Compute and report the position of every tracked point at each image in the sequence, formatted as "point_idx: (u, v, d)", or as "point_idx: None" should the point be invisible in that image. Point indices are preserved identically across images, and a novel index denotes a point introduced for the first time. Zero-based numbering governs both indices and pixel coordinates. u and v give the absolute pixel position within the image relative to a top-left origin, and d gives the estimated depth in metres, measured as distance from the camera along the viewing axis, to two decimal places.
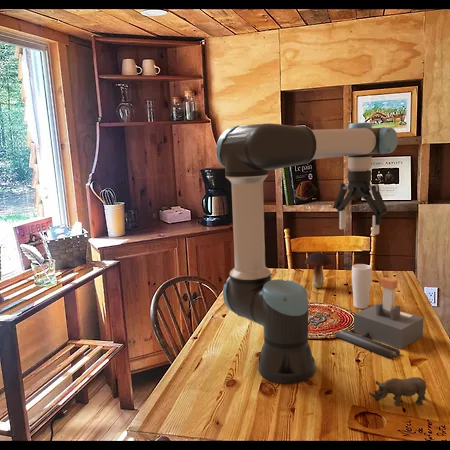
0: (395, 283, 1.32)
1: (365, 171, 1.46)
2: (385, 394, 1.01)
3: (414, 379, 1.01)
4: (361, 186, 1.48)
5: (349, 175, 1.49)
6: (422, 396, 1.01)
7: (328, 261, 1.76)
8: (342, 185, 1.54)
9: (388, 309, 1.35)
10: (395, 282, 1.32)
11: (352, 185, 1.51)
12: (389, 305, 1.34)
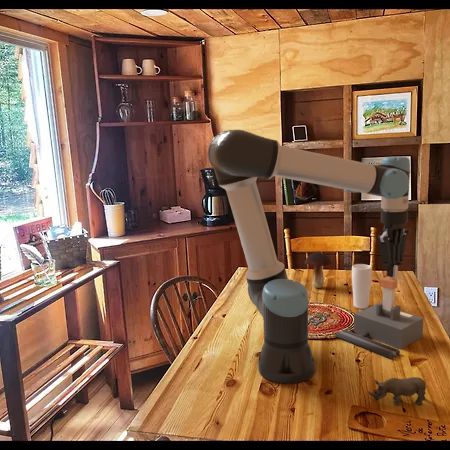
0: (395, 283, 1.32)
1: (384, 211, 1.30)
2: (384, 394, 1.01)
3: (414, 379, 1.01)
4: None
5: None
6: (422, 396, 1.01)
7: (328, 261, 1.76)
8: None
9: (388, 309, 1.35)
10: (395, 282, 1.32)
11: None
12: (389, 305, 1.34)
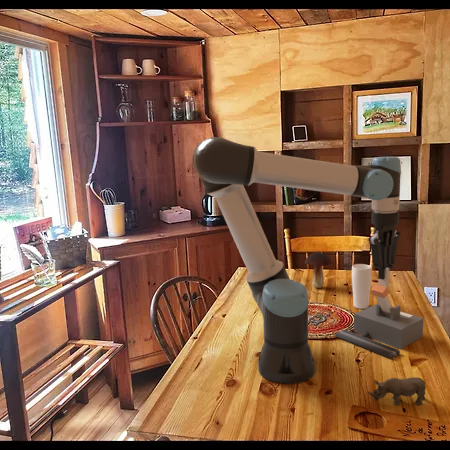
0: (385, 291, 1.30)
1: (375, 213, 1.27)
2: (384, 393, 1.01)
3: (413, 379, 1.01)
4: None
5: None
6: (421, 396, 1.01)
7: (328, 261, 1.76)
8: None
9: (387, 311, 1.34)
10: (385, 290, 1.30)
11: None
12: (387, 308, 1.34)
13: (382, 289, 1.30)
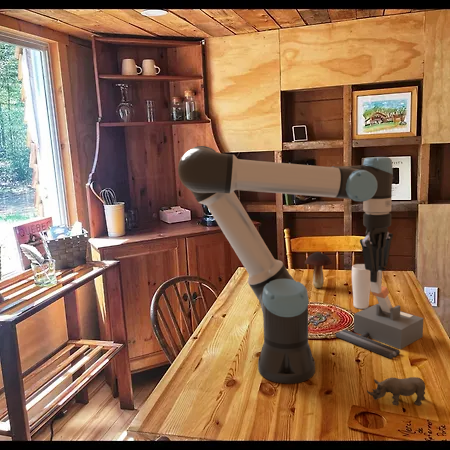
0: (385, 291, 1.30)
1: (366, 214, 1.24)
2: (383, 393, 1.02)
3: (413, 379, 1.01)
4: None
5: None
6: (421, 396, 1.01)
7: (328, 261, 1.76)
8: None
9: (387, 311, 1.34)
10: (385, 290, 1.30)
11: None
12: (387, 308, 1.34)
13: (382, 289, 1.30)
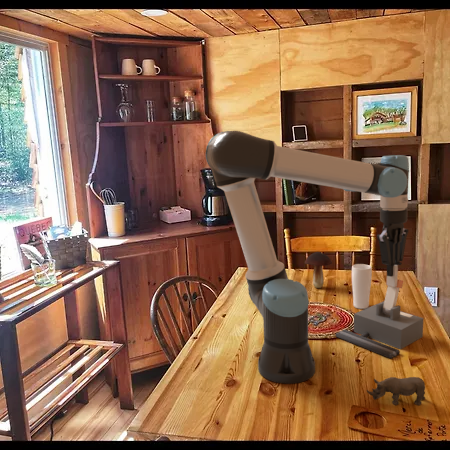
0: (401, 283, 1.34)
1: (383, 210, 1.29)
2: (383, 392, 1.02)
3: (413, 379, 1.01)
4: None
5: None
6: (421, 396, 1.01)
7: (328, 261, 1.76)
8: None
9: (389, 308, 1.35)
10: (401, 282, 1.34)
11: None
12: (390, 304, 1.35)
13: None
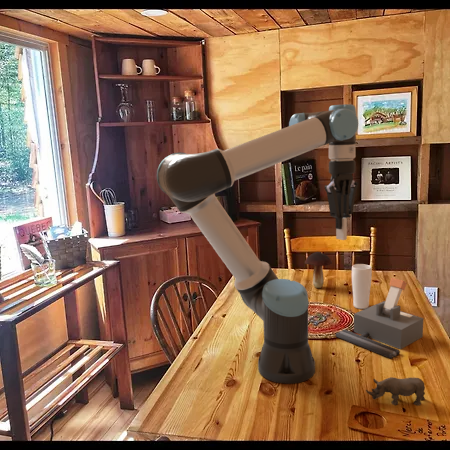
0: (404, 284, 1.36)
1: (331, 161, 1.28)
2: (382, 392, 1.02)
3: (412, 379, 1.01)
4: None
5: None
6: (420, 397, 1.01)
7: (328, 261, 1.76)
8: None
9: (389, 308, 1.35)
10: (404, 283, 1.36)
11: None
12: (391, 303, 1.35)
13: (402, 281, 1.36)
